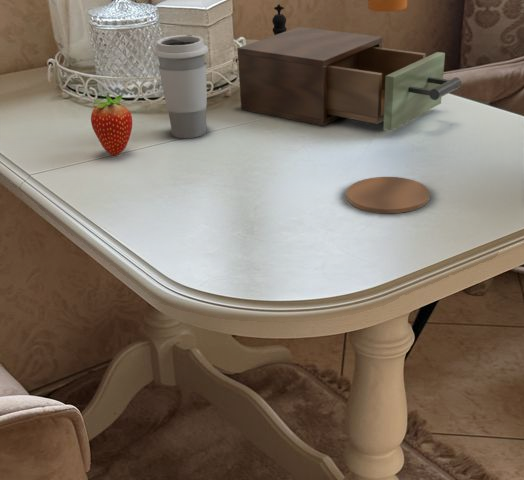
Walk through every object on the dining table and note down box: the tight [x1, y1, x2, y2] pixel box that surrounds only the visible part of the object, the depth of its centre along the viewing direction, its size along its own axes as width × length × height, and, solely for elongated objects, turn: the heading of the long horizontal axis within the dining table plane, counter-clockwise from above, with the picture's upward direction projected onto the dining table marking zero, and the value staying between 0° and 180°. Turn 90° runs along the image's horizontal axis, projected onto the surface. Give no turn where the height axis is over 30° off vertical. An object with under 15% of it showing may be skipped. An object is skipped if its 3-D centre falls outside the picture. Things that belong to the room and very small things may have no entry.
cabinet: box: [236, 26, 383, 127], centre depth 113 cm, size 15×15×9 cm
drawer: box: [326, 47, 462, 131], centre depth 106 cm, size 18×13×7 cm
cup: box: [153, 34, 209, 139], centre depth 104 cm, size 7×7×12 cm
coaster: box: [345, 176, 431, 214], centre depth 87 cm, size 9×9×1 cm
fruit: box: [90, 91, 133, 157], centre depth 100 cm, size 5×5×8 cm
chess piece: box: [271, 4, 288, 36], centre depth 130 cm, size 4×4×10 cm
